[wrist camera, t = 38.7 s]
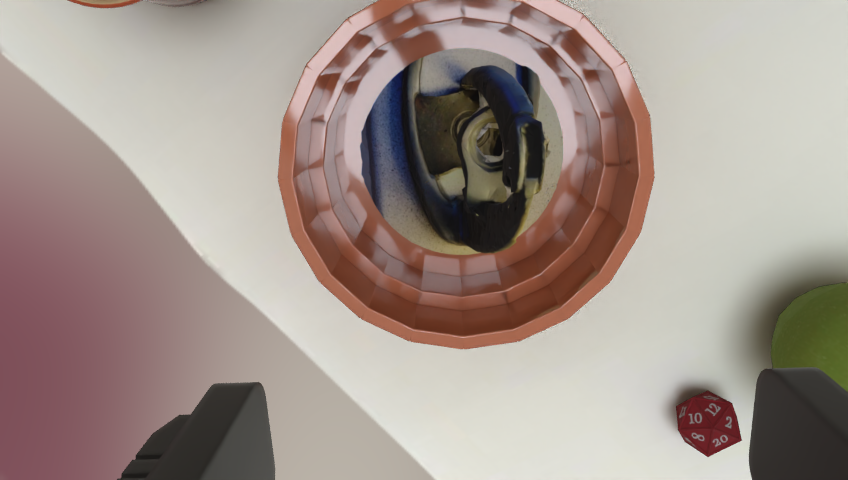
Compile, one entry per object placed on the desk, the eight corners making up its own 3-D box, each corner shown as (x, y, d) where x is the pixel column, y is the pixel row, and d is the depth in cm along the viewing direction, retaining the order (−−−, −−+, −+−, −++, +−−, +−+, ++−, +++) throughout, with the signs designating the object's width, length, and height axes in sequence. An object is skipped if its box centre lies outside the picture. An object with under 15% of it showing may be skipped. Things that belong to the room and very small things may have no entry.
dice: (685, 443, 44) (708, 479, 41) (656, 394, 43) (677, 427, 40) (735, 418, 44) (763, 453, 40) (707, 368, 43) (733, 399, 39)
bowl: (266, 219, 41) (224, 256, 33) (388, -65, 36) (374, -99, 28) (520, 339, 43) (537, 401, 35) (670, 84, 38) (728, 91, 30)
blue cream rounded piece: (465, 311, 38) (475, 268, 23) (334, 168, 40) (269, 49, 26) (606, 182, 39) (699, 65, 25) (472, 51, 42) (485, -126, 27)
